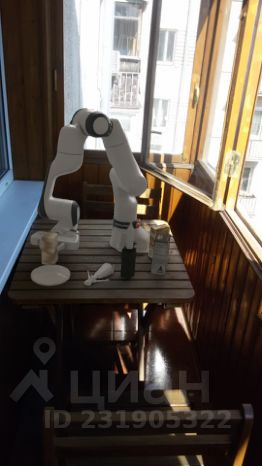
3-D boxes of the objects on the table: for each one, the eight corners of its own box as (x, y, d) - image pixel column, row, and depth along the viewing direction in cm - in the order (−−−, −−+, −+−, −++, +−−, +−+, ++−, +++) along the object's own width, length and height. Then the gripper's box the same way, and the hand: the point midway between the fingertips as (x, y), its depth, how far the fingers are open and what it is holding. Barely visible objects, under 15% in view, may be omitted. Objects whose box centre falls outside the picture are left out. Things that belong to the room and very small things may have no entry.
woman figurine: (122, 265, 166) (96, 284, 152) (122, 274, 168) (96, 293, 154) (101, 257, 172) (74, 275, 158) (101, 266, 174) (74, 284, 160)
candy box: (152, 259, 183) (156, 229, 177) (147, 255, 186) (150, 226, 180) (167, 255, 188) (170, 226, 182) (161, 252, 191) (165, 223, 185)
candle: (129, 279, 164) (133, 224, 154) (119, 276, 166) (122, 221, 156) (135, 274, 168) (139, 221, 158) (125, 271, 170) (128, 218, 160)
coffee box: (153, 264, 178) (156, 232, 172) (167, 266, 177) (171, 234, 171) (150, 273, 170) (153, 240, 164) (165, 275, 169) (168, 242, 163)
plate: (74, 269, 169) (74, 267, 168) (63, 288, 154) (63, 286, 154) (39, 264, 170) (39, 262, 170) (24, 282, 156) (24, 280, 155)
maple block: (57, 260, 162) (57, 233, 157) (53, 265, 157) (53, 238, 152) (46, 258, 162) (45, 232, 157) (41, 263, 158) (41, 236, 153)
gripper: (37, 225, 169) (24, 237, 156) (82, 231, 167) (73, 244, 154) (37, 238, 171) (24, 252, 159) (82, 245, 169) (73, 258, 156)
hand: (49, 248), depth 156 cm, fingers closed on maple block, 5 cm apart
